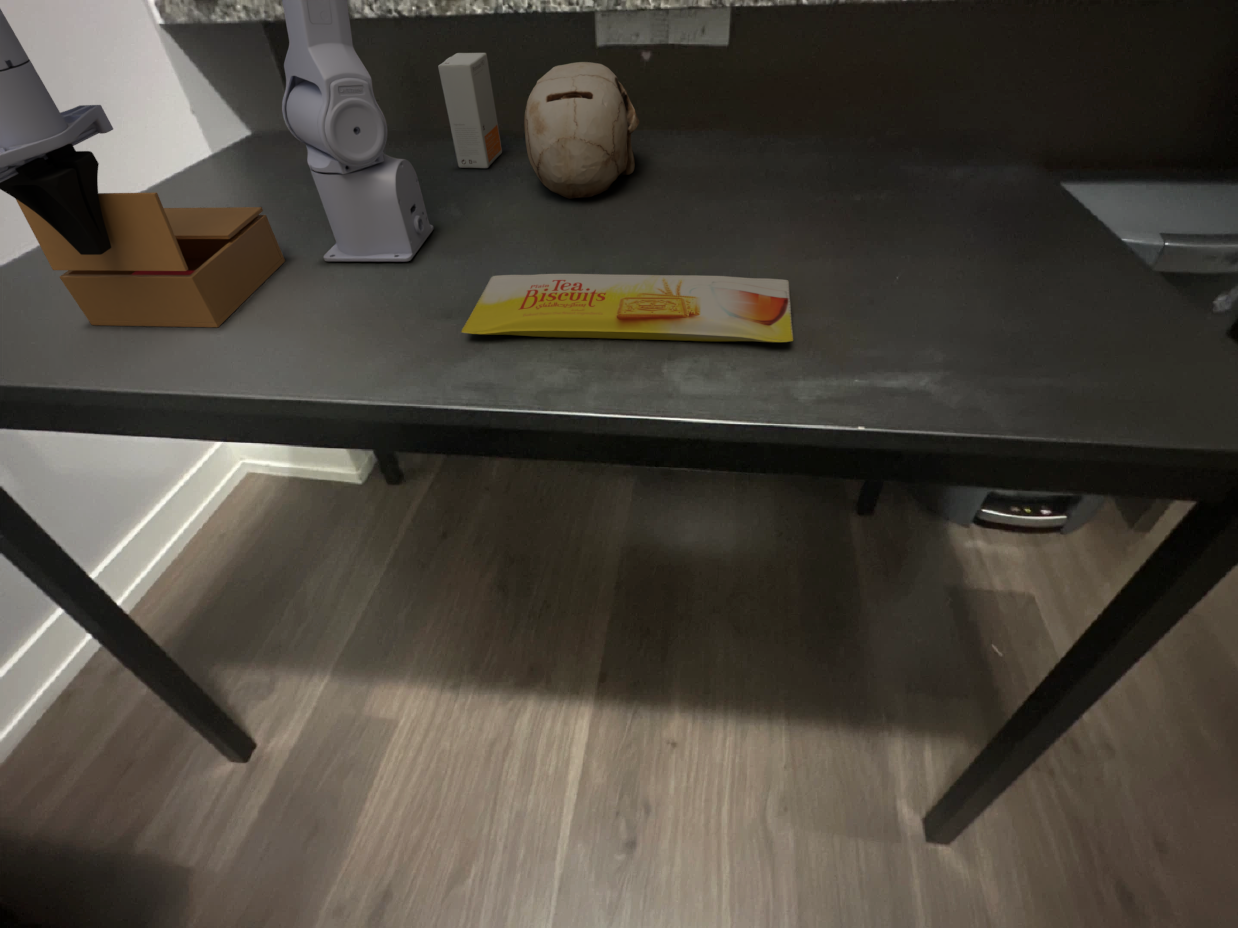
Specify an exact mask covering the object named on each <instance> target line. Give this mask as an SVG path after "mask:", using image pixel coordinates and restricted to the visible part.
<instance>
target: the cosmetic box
mask: <svg viewBox="0 0 1238 928" xmlns="http://www.w3.org/2000/svg"><path fill="white" fill-rule="evenodd" d="M437 68H438V73H439V74H438V75H439V77H440V83H441V88H442V93H443V97H444V102H445V107H446V112H447V115H448V116H447V117H448V122H449V126H450V127H449V128H450V132H451V136H452V141H453V147H454V151H455V156H456V161H457V166H458V168H460V169H488V168H489V167H490V166H491V165H492V164H493V163H494V162H495V161H496V160H497V158H499V157H500V156H501V155H502V153H503V147H502V142H501V135H500V128H499V123H498V116H497V110H496V105H495V97H494V92H493V87H492V86H493V85H492V81H491V73H490V66H489V60H488V56H487V52H457V53H455V54H453V55H451V56H449V57H447V58H446V59H445V60H444V61H443V62H442V63H440V64H439V65H438V66H437Z"/></svg>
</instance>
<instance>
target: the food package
mask: <svg viewBox="0 0 1238 928" xmlns="http://www.w3.org/2000/svg"><path fill="white" fill-rule="evenodd" d="M790 292H791V291H790V282H789V280H787V279H781V278H780V279H778V278H762V277H761V278H759V277H757V278H755V277H753V278H752V277H739V276H726V275H695V274H693V275H692V274H691V275H686V274H685V275H682V274H681V275H680V274H678V275H676V274H674V275H673V274H670V275H669V274H665V275H664V274H607V273H606V274H605V273H604V274H603V273H602V274H601V273H599V274H598V273H539V274H502V275H491V277H490V278H489V281H488V283H487V285H486V286H485V288H484V290H483V291H482V293H481V296H480V297H479V298H478V301H477V302H476V304H475V305H474V306H475V307H473V310H472V312H471V313H470V315H469V316H468V319H467V321H466V322H465V324H464V326H463V327H462V329H461V331H460V333H463V334H468V335H469V334H470V335H483V336H484V335H485V336H487V335H489V336H490V335H491V336H492V335H493V336H495V335H496V336H498V335H500V336H501V335H504V336H522V337H541V338H573V339H574V338H579V339H580V338H582V339H583V338H585V339H616V340H617V339H618V340H655V341H656V340H657V341H659V340H660V341H661V340H662V341H684V342H685V341H686V342H760V343H789V342H793V341H794V332H793V331H794V329H793V323H792V322H793V320H792V318H793V317H792V314H791V313H792V311H791V310H792V308H791V307H792V305H791V296H790V295H791V293H790Z"/></svg>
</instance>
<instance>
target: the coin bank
mask: <svg viewBox="0 0 1238 928" xmlns="http://www.w3.org/2000/svg"><path fill="white" fill-rule="evenodd" d="M623 85H624V84H622V83H621V82H620V81H619V80H618V77H617V75H615V73H614V72H613V71H612V70H611V69H610V68H609V67H608V66H606V65H604V64H602V63H597V62H592V61H591V62H590V61H589V62H588V61H579V62H571V63H566V64H559V65H555V66H553V67H552V68H551V69H550V70H548V71H547V72H546V73H545V74H543V76H541V77H540V78H539V79H538V80H537V81H536V84H535V85H534V87H533V88H532V89H531V92H530V94H529V95H528V97H527V101H526V105H525V110H524V111H525V112H524V117H523V118H524V121H523V122H524V135H525V136H524V138H525V146H526V151H527V152H526V153H527V158H528V161H529V164H530V166H531V168H532V169H533V171H534V173H535V175H536V177H537V178H538V179H539V181H540V182H541V184H542V185H543V186H544V187H546V188H547V189H548V190H549V191H551V192H552V193H554V194H557V195H559V196H561V197H563V198H565V199H570V200H571V199H578V198H579V199H580V198H581V199H582V198H590V197H595V196H597V195H600V194H602V193H604V192H607V191H608V190H609V189H610V187H611V185H612V184H613V183H614V182H615V181H616V180H617V179H618V177H619V176H628V175H629V176H630V175H631V174H632V173H634V171H635V166H636V164H635V157H634V151H633V147H632V134H633V133H634V132H635V131H636V129H637V128H638V126H639V124H640V120H639V118H638V115H637V113H636V110H635V109H636V108H635V106H633V103H632V101H631V99H630V97H629V95H628V91H627V90H626V88H625V87H624V86H623Z"/></svg>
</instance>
